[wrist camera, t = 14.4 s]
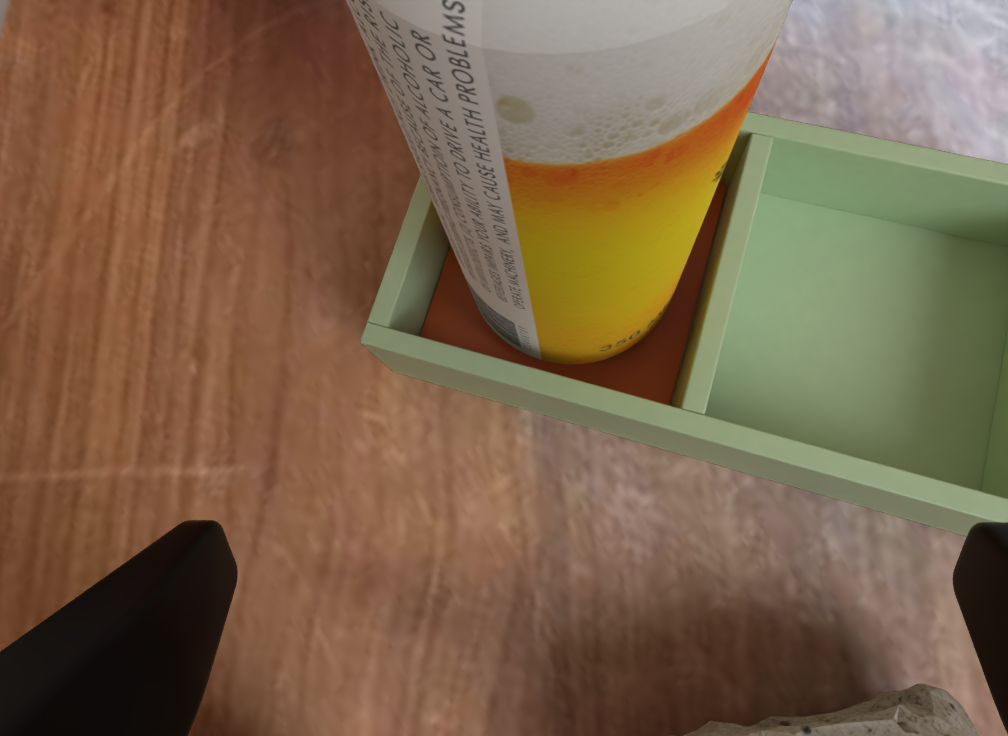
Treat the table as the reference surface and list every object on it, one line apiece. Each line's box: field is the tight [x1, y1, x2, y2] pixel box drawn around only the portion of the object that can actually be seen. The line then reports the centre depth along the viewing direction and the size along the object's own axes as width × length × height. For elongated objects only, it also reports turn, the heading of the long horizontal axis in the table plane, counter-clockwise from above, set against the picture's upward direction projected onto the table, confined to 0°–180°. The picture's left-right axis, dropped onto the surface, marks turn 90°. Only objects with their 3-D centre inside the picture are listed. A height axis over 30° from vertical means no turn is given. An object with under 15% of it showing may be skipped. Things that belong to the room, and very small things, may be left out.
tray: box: [360, 112, 1008, 536], centre depth 19 cm, size 9×17×3 cm, turn 73°
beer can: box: [346, 0, 793, 364], centre depth 14 cm, size 6×6×15 cm
